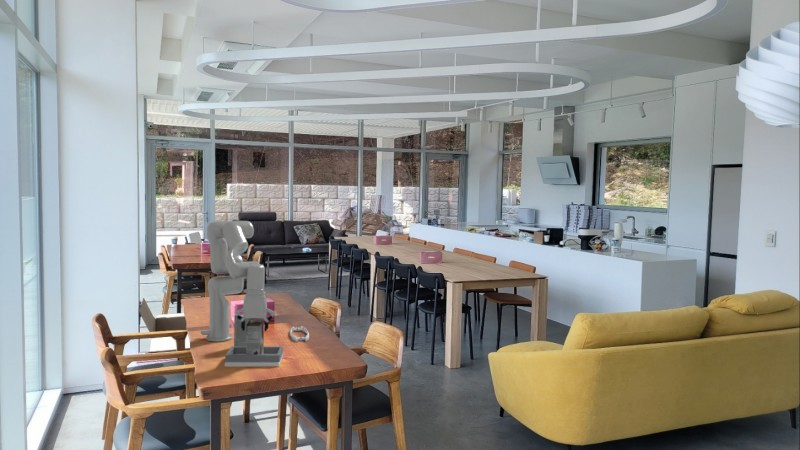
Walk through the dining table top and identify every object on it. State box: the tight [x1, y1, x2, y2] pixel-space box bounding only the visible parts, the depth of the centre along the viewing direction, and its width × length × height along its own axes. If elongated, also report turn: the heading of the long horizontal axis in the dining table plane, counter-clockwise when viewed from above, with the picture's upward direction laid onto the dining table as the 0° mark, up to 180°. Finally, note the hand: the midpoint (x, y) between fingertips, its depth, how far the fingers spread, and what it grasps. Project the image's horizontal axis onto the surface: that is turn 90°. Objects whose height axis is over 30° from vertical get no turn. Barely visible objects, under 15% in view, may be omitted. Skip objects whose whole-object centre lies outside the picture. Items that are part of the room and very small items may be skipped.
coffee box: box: [246, 319, 265, 355], centre depth 250 cm, size 9×6×16 cm
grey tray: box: [224, 345, 284, 368], centre depth 250 cm, size 23×16×4 cm
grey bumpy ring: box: [289, 325, 310, 343], centre depth 294 cm, size 3×10×25 cm
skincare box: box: [233, 313, 250, 346], centre depth 269 cm, size 8×7×16 cm
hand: (254, 330), depth 250 cm, fingers open, 9 cm apart
